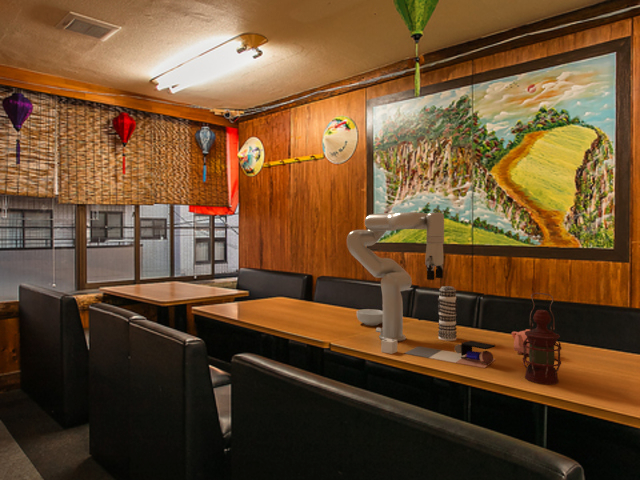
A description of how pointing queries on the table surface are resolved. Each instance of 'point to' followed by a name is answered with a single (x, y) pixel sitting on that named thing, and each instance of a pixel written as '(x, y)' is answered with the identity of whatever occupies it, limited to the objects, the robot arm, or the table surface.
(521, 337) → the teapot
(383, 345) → the die
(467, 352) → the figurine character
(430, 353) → the game board
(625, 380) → the table surface
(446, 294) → the decorative candle
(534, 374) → the lantern
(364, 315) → the cereal bowl
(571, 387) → the table surface
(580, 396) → the table surface
